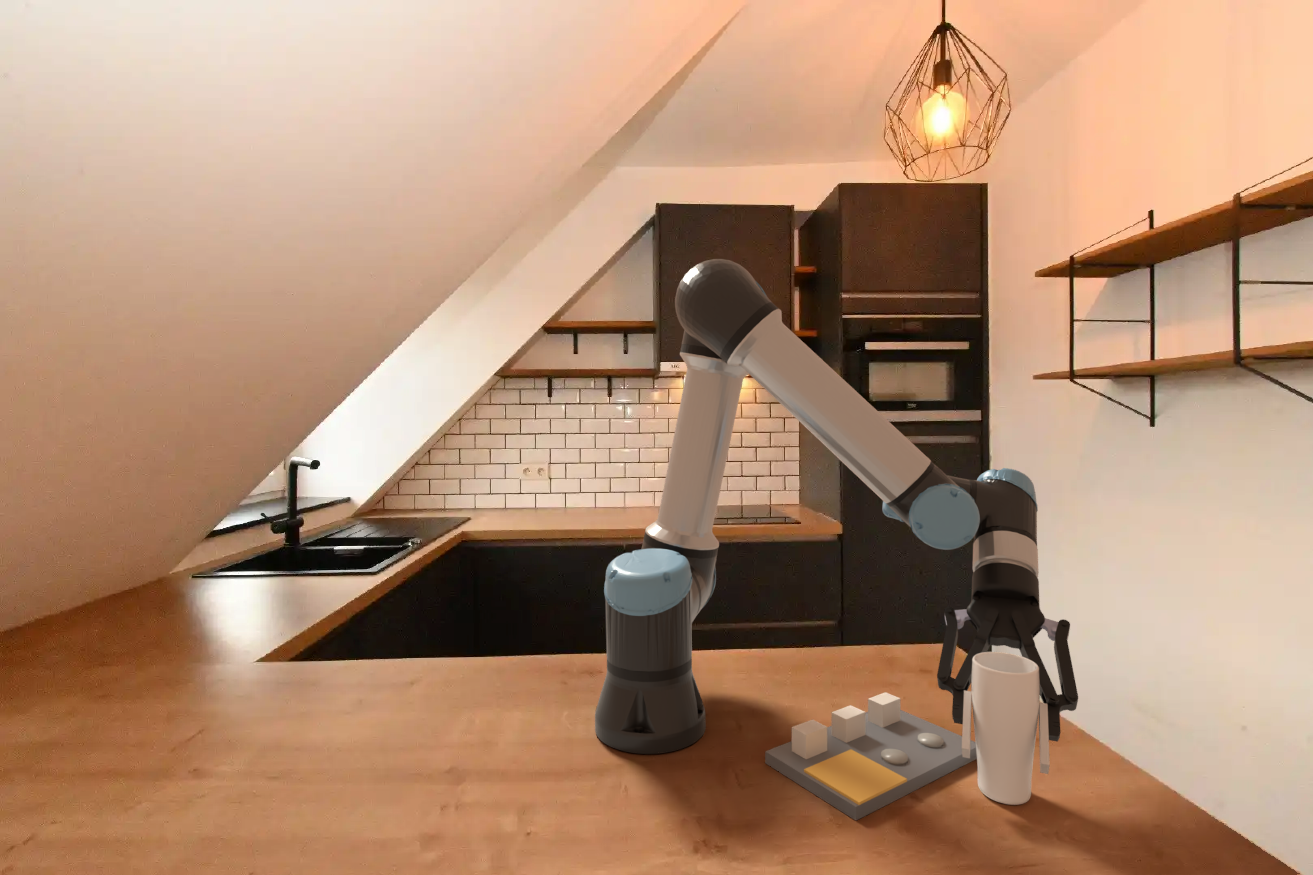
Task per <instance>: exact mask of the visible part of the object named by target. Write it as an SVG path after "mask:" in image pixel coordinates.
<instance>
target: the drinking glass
mask: <svg viewBox="0 0 1313 875" xmlns="http://www.w3.org/2000/svg"><path fill="white" fill-rule="evenodd" d="M970 689H971V690H970V691H971V696H972V715H973V716H972V718H973V726H974V727H973V728H974V739H975V740H974V742H976V754H977V759H976V763H977V786H978V788H979V790H980V792H981V793H982V794H984V796H985V797H987V798H989V799H991V800H992V801H995V802H996V803H997V802H998V803H999V804H1004V805H1008V806H1009V805H1011V806H1016V805H1017V806H1018V805H1023V804H1026V803H1027V802H1029V800H1030V799H1031V797H1032V778H1033V766H1034V757H1035V747H1036V741H1037V740H1036V739H1037V738H1036V737H1037V732H1038V724H1039V703H1040V698H1041V696H1040V679H1039V667H1038V665H1037V664H1036V663H1035V662H1033V661H1032V660H1030V659H1027V658H1025V657H1022V655H1018V654H1014V653H1010V652H1002V651H1001V652H1000V651H987V652H983V653H979V654H976V655H975V656H974V657H973V658H972V674H971V684H970Z"/></svg>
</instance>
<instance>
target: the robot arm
mask: <svg viewBox="0 0 1313 875" xmlns="http://www.w3.org/2000/svg"><path fill="white" fill-rule="evenodd" d="M674 307H675V313H676V317H677V320H678V322H679V324H680V326H681V327H682V329H683V330H684V331H683V336H682V341H681V346H680V351H679V356H680V357H681V359H682V360H683V362H684V363H685V365H686V368H687V369H686V374H685V379H684V382H683V388H682V393H681V398H680V404H679V409H678V414H677V420H676V424H675V430H674V435H673V438H672V439H673V440H672V445H671V449H670V454H669V460H668V465H667V468H666V469H667V470H666V475H665V480H664V484H663V490H662V495H661V500H660V505H659V510H658V515H657V519H656V520H655V521H654V522H652V523H651V524H649V525H648V526H646V528H645V531H644V535H643V541H642V546H641V549H635V550H632V551H631V552H624V553H622V554H620V555H617V556H616V557H615V558H613V559H612V560H611V561H610V562H609V563H608V565H607V567H606V570H605V581H604V584H603V585H604V586H603V588H604V589H603V593H604V601H605V604H604V605H605V606H604V607H605V639H606V640H605V641H606V642H605V643H606V644H605V647H606V648H605V650H606V675H605V678H604V681H603V684H602V687H601V691H600V695H599V698H598V701H597V706H596V708H595V712H594V730H595V735H596V736H597V737H598V739H599V740H600V741H601V742H602V743H603V744H605V745H607V746H609V747H611V748H612V749H614V750H615V749H616V750H619V751H621V752H626V753H632V754H640V755H641V754H644V755H654V754H655V755H656V754H658V755H659V754H665V753H671V752H675V751H678V750H679V751H680V750H681V749H684V748H687V747H689V746H691V745H693V744H695V743H697V741H698V740H700V739H701V738H702V736H704V734H705V731H706V727H707V726H706V710H705V705H704V703H703V699H702V697H701V693H700V691H699V688H698V685H697V682H696V679H695V676H694V673H693V663H692V662H693V659H692V658H693V647H692V646H693V644H692V643H693V641H692V639H693V638H692V634H693V633H692V632H693V631H692V624H693V622H694V620H695V619H696V618H697V616H698V614H699V613H700V612H701V610H702V609H703V608H704V607H705V606H706V605H707V603H708V602H710V601H709V600H710V598H712V595H713V593H714V590H715V587H716V582H717V571H716V570H717V569H716V564H717V558H718V557H717V556H718V553H719V552H718V550H719V547H720V542H719V540H718V539H717V537H716V536H715V534H714V533H713V527H714V522H715V517H716V513H717V508H718V502H719V498H720V494H721V489H722V483H723V479H724V473H725V470H726V469H725V468H726V465H727V459H728V454H729V450H730V444H731V441H732V435H733V432H734V431H733V429H734V424H735V419H736V415H737V410H738V406H739V400H740V395H741V391H742V386H743V381H744V379H745V378H746V377H747V376H748V375H750V376H751V377H752V378H753V379H754V381H756V382H757V383H758V384H759V385H760V386H762V388H764V389H765V390H766V391H767V393H768V394H770V395H771V396H772V397H773V398H774V399H775V400H776V401H777V402H778V403H779V404H780V405H781V406H782V407H784V408H785V410H787V411H788V412H789V413H790V415H792V416H793V417H794V418H795V419H796V420H797V421H798V422H799V423H800V424H801V425H802V426H804V427H805V428H806V429H807V430H808V431H809V432H810V433H811V434H812V435H813V436H814V437H815V438H816V439H817V440H819V442H820V443H822V445H824V446H825V447H826V448H827V449H828V450H829V451H830V452H831V453H832V454H833V456H835V457H836V458H838V460H839V461H840V462H842V464H843V465H845V466H846V467H847V468H848V469H849V470H850V471H851V472H852V473H853V474H854V475H855V476H856V477H858V478H859V479H860V481H862V482H863V483H864V484H865V485H866V486H867V488H869V489H870V490H871V491H873V493H875V495H877V496H878V497H879V498H880V499H881V500H882V513H883V514H884V516H886V517H887V518H891V519H895V520H897V521H899V522H902V523H905V524H906V525H907V526H908V527H909V528H911V531H912V532H913V535H914V536H915V537H916V538H918V539H919V540H920V541H922V542H923V543H924V544H926V545H927V546H928V547H929V546H930V547H932V548H934V549H937V550H944V551H946V550H947V551H949V550H950V551H951V550H955V549H959V548H961V547H963V546H965V545H966V544H968V543H969V542H971V540H972V539H973V543H972V572H973V573H972V578H971V601H970V602H969V605H967V607H966V609H965V608H964V609H954V607H952V606H946V607H945V608H944V622H945V626H946V628H945V633H944V637H943V638H944V639H943V642H942V648H941V653H940V658H939V664H938V668H937V674H936V677H937V685H938V688H939V689H940V690H942V691H947V692H950V693H951V695H952V709H951V715H952V716H951V717H952V720H953V724H959V725H962V733H961V734H962V735H961V736H962V757H965V758H970V742H971V740H972V739H971V738H972V734H971V733H972V711H973V707H972V693H971V690H969V688H970V687H971V674H972V658H973V657H974V656H975V655H976V654H979V653H983V652H989V649H990V648H991V647H990V646H994V647H1001V646H1005V647H1008V648H1011V649H1016V650H1018V649H1019V652H1020V656H1022V657H1025V658H1027V659H1030V660H1032V661H1033V662H1035V663H1036V664H1037V665H1038V667H1039V679H1040V698H1041V701H1042V702H1039V714H1038V742H1039V743H1038V744H1039V746H1038V747H1039V773H1041V774H1045V775H1049V771H1050V764H1051V763H1050V760H1051V759H1050V742H1049V741H1052V742H1059V740H1060V738H1061V712H1063V711H1070V712H1073V711H1076V709H1077V706H1078V701H1079V694H1078V689H1077V684H1076V677H1075V674H1074V673H1075V672H1074V668H1073V663H1072V658H1071V653H1070V652H1071V651H1070V646H1069V642H1068V640H1069V635H1070V630H1071V622H1070V621H1068V620H1067V619H1060V620H1058V621H1056V620H1053V619H1049V618H1046V616H1045V614H1044V613H1043V612H1042V610H1041V607H1040V606H1041V605H1040V581H1039V578H1038V577H1039V549H1038V534H1037V533H1038V504H1037V495H1036V491H1035V486H1034V483H1033V481H1032V480H1031V478H1030V477H1029V476H1028V475H1026V474H1025V473H1023V472H1021V471H1019V470H1017V469H1013V468H1008V467H1003V468H1001V469H995V468H992V469H988V470H986V471H984V472H983V473H981V474H980V475H979V476H978V477H977V479H967V478H961V477H956V476H952V475H948V474H946V473H945V472H944V471H943V470H942V469H940V468H939V467H938V466H937V465H936V464H934V462H932V460H931V459H930V458H929V457H928V456H926V455H925V454H924V452H922V451H921V450H920V449H919V448H918V447H917V446H916V445H915V444H914V443H913V442H911V440H910V439H908V437H906V436H905V435H904V434H903V433H902V432H901V431H900V430H899V429H897V428H896V427H895V426H894V425H893V424H892V423H891V422H890V421H889V420H888V419H887V418H886V417H885V416H883V415H882V414H881V413H880V411H878V410H877V409H876V408H875V407H874V406H873V405H872V404H871V403H869V402H868V401H867V400H866V399H865V398H864V397H863V396H862V395H861V394H860V393H859V392H857V390H855V388H854V387H853V386H851V385H850V384H849V382H847V381H846V380H845V379H843V377H841V376H840V375H839V374H838V373H837V372H836V371H835V370H834V369H833V368H832V367H831V366H829V364H828V363H826V362H825V361H824V360H823V358H821V357H820V356H819V355H818V354H817V353H816V352H814V351H813V350H812V348H810V347H809V346H808V345H807V344H806V343H805V342H803V341H802V340H801V338H799V337H798V336H797V335H796V334H795V333H794V332H793V331H792V330H791V329H790V328H788V327H787V326H786V325H785V324H784V322H783V321H782V320H783V318H782V316H783V315H782V314H783V313H782V312H783V311H782V309H780V308H779V307H778V306H777V305H776V304H775V303H773V302H772V301H771V300H770V299H769V297H768V296H767V294H766V292H765V291H764V289H763V287H762V286H761V285H760V283H758V282H757V280H755V278H754V277H753V275H752V274H751V273H750V272H749V271H748V270H747V269H746V268H745V267H744V266H742V265H741V264H739V263H737V262H734V261H733V260H729V259H724V258H713V259H709V260H708V259H707V260H704V261H701V262H699V263H698V264H696V265H695V266H693V267H691V268H690V269H689V270H688V271H687V272H686V273H685V274H684V276H683V277H682V279H681V280H680V282H679V284H678V286H677V289H676V294H675V299H674ZM966 621H969V622H970V623H971V625H972V626H973V628H974V629H975V631H977V632H976V634H975V638H974V640H973V643H972V645H971V646H970V648H969V651H968V652H967V655H966V657H965V658H964V661H963V662H962V665H961V666H960V669H959V670H958V672H957V675H956V677H952V671H953V668H954V660H955V656H956V655H955V654H956V650H957V644H958V638H959V630H960V629H962V628H964V625H965V622H966ZM1042 630H1045V632H1046V633H1047V637H1048V639H1049V640H1050V641H1052V642H1053V643H1054V644H1053V652H1054V658H1055V663H1056V668H1057V674H1058V679H1059V685H1060V690H1061V694H1058V693H1057V691H1056V688H1055V686H1054V684H1053V683H1052V680H1051V678H1050V675H1049V673H1048V671H1047V669H1046V666H1045V663H1044V662H1043V660H1042V657H1041V656H1040V654H1039V651H1038V649H1037V647H1036V643H1035V639H1034V638H1035V637H1036V636H1037V635H1038V634H1039V633H1040V632H1041V631H1042Z"/></svg>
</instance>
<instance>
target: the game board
mask: <svg viewBox="0 0 1313 875" xmlns="http://www.w3.org/2000/svg"><path fill="white" fill-rule="evenodd" d="M764 753H765V754H764V758H765V759H764V760H765V764H766V765H768V766H769V767H770V766H771V767H770V768H772V769H774V770H775V771H777V772H778V771H779V772H778V773H780V774H781V775H783V776H784V777H787V778H788V779H790V780H791V781H793V782H794V783H796V784H797V785H798V786H800V787H803V789H806V790H807V791H808V792H810V793H812V794H813V795H814V796H816V797H818V798H820V799H821V800H822V801H824V802H825V803H827V804H829V805H830V806H832V807H834V808H835V809H837V810H838V811H840V812H842V813H843V814H845V815H846V816H848V817H849V818H851V819H853V820H854V821H858V820H860V819H862V818H864V817H866V816H867V815H870V814H872V813H874V812H876V811H877V810H880V809H882V808H883V807H886V806H887V805H890V804H891V803H893V802H896V801H897V800H899V799H901V798H903V797H905V796H907V795H908V794H909V795H910V794H911V793H912V792H915V791H917V790H918V789H921V788H922V787H924V786H926V785H928V784H930V783H933V782H934V781H936V780H938V779H940V778H942V777H944V776H946V775H948V774H949V773H951V772H953V771H956V770H958V769H960V768H962V767H963V766H965V765H967V764H969V763H971V762H973V761H975V760H977V754H976V742H975V740H972V739H971V742H970V758H965V757H962V735H960V734H958V733H955V732H954V731H950V730H949V729H946V728H944V727H941V726H939V725H937V724H935V723H932V722H930V721H928V720H925V719H923V718H921V717H918V716H916V715H914V714H912V713H909V712H906V711H904V710H902V709H901V697H898V696H896V695H893V694H890V693H889V692H887V691H886V692H882V693H880V694H877V695H874V696H872V697H869V698H867V711H865V710H862V709H860V708H858V707H857V706H856V707H855V706H853V705H851V704H850V705H847V706H845V707H842V708H839V709H837V710H834V711H831V725H829V726H826V725H824V724H822V723H821V722H819V721H817V720H815V719H814V718H813V719H809V720H807V721H805V722H802V723H799V724H796V725H793V726H792V727H791V741H789V742H786V743H784V744H780V745H778V746H775V747H773V748H771V749H768V750H765V752H764Z"/></svg>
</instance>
